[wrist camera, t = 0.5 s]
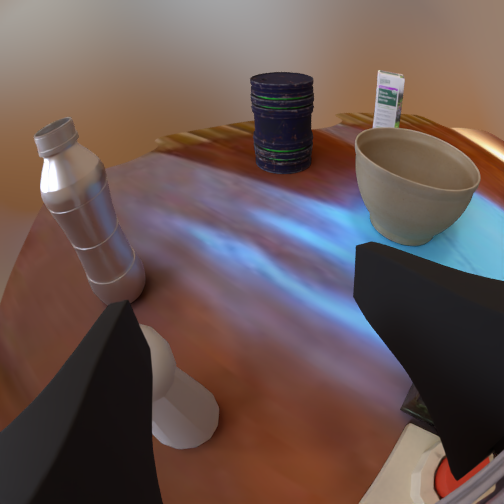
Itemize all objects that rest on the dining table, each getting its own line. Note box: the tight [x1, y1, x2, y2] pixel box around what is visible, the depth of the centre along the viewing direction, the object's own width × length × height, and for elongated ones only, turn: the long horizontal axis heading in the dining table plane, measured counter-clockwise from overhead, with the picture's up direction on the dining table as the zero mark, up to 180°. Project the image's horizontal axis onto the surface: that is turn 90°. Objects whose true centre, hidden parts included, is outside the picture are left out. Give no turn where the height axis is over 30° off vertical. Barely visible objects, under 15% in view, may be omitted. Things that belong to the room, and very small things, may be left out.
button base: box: [359, 423, 496, 504], centre depth 14 cm, size 9×12×3 cm
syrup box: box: [373, 70, 405, 128], centre depth 55 cm, size 6×6×14 cm
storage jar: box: [250, 72, 314, 174], centre depth 46 cm, size 10×10×15 cm
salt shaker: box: [139, 324, 219, 449], centre depth 17 cm, size 6×6×13 cm
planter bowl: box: [355, 127, 480, 246], centre depth 34 cm, size 16×16×11 cm
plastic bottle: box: [34, 117, 146, 305], centre depth 26 cm, size 6×7×20 cm
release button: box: [435, 457, 490, 498], centre depth 13 cm, size 4×4×2 cm
